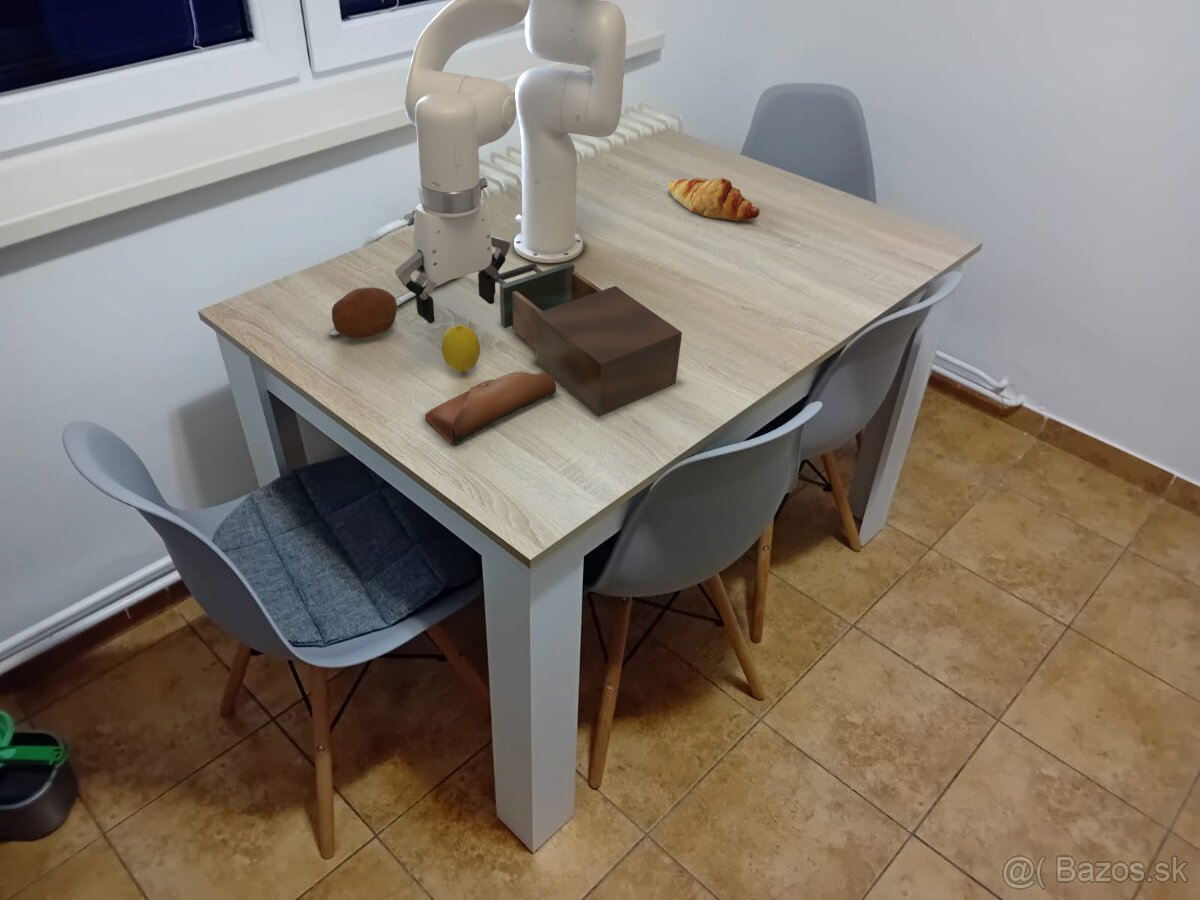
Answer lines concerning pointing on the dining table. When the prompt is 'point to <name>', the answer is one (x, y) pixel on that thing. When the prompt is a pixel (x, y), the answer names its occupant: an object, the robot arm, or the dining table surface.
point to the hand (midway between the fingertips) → (457, 309)
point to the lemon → (460, 348)
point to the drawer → (538, 295)
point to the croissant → (713, 198)
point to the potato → (364, 313)
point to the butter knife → (398, 301)
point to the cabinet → (607, 349)
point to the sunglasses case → (488, 404)
